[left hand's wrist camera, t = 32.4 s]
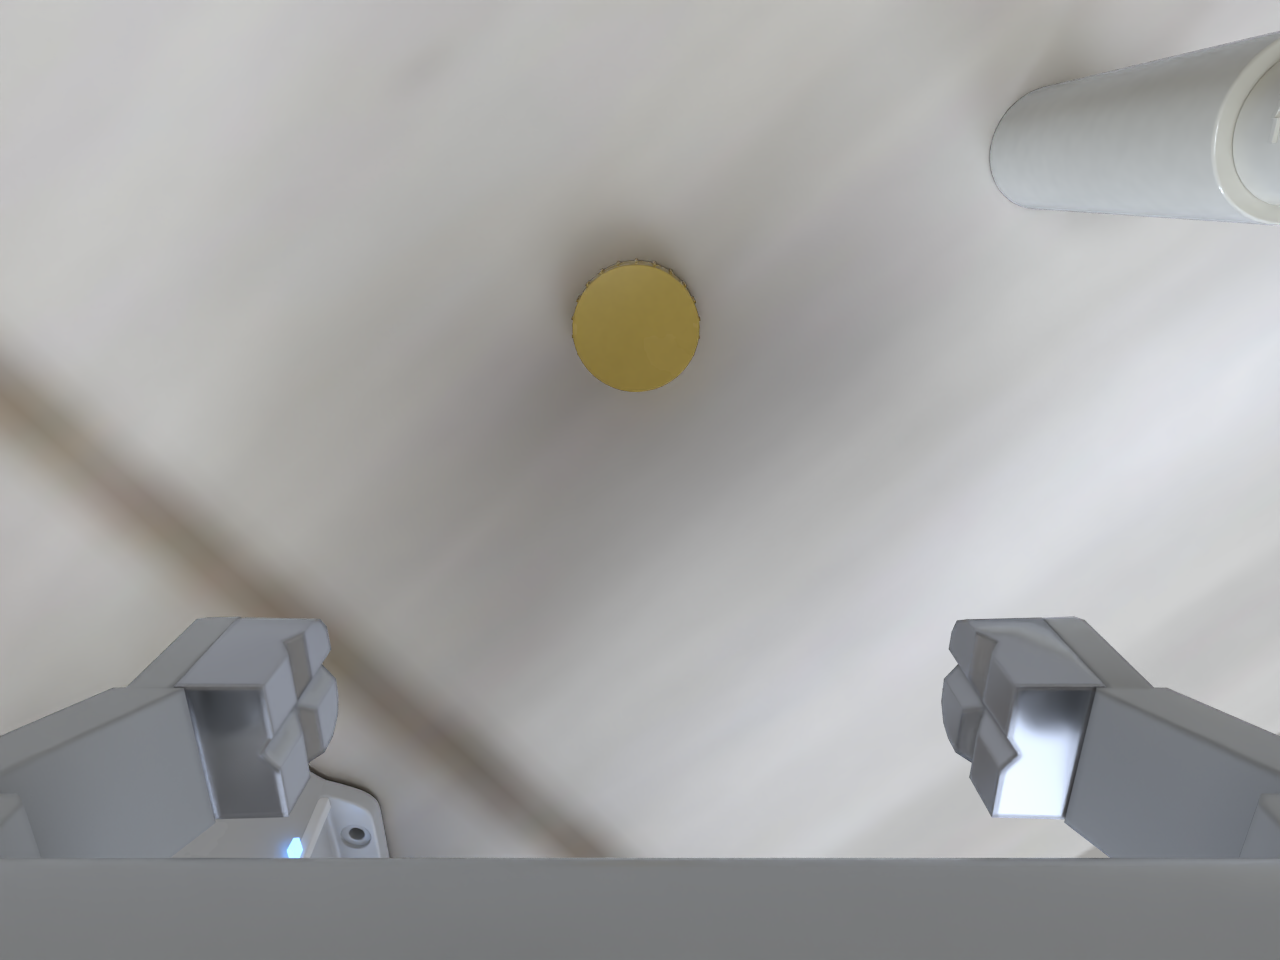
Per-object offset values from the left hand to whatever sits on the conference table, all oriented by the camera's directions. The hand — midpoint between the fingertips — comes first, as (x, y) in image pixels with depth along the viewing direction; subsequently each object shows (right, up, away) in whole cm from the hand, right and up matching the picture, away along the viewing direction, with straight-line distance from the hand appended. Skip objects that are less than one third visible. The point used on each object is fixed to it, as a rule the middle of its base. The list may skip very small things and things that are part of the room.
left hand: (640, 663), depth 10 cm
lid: (0, +9, +24) cm, 25 cm away
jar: (+17, +16, +23) cm, 32 cm away
